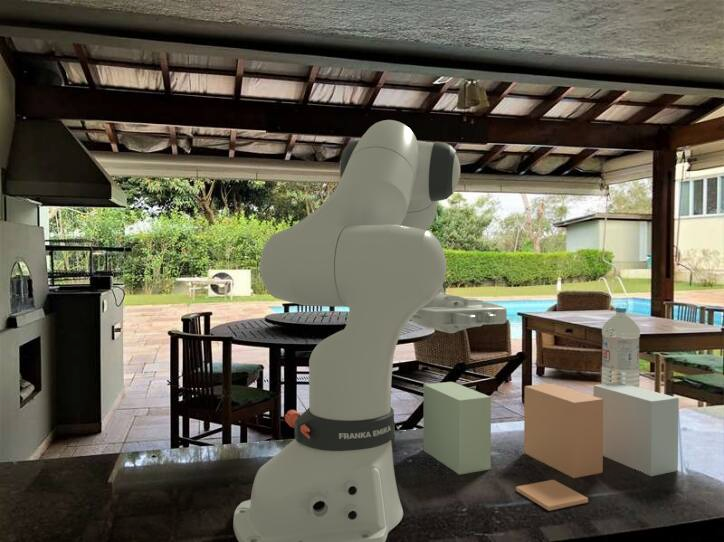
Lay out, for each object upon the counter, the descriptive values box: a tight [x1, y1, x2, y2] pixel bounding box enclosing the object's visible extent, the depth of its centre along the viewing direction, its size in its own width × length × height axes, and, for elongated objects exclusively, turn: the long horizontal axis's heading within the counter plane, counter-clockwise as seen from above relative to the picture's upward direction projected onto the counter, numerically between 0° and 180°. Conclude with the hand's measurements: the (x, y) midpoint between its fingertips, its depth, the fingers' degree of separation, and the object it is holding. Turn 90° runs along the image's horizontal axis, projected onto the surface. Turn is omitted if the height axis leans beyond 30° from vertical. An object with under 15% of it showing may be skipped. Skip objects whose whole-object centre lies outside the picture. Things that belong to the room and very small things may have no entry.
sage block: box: [422, 381, 492, 475], centre depth 93 cm, size 6×12×12 cm, turn 22°
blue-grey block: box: [592, 382, 680, 477], centre depth 92 cm, size 6×12×12 cm, turn 22°
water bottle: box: [601, 306, 641, 388], centre depth 107 cm, size 7×7×25 cm
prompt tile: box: [515, 479, 589, 512], centre depth 78 cm, size 7×7×1 cm
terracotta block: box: [523, 383, 604, 479], centre depth 92 cm, size 6×12×12 cm, turn 22°
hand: (483, 319), depth 113 cm, fingers open, 4 cm apart
